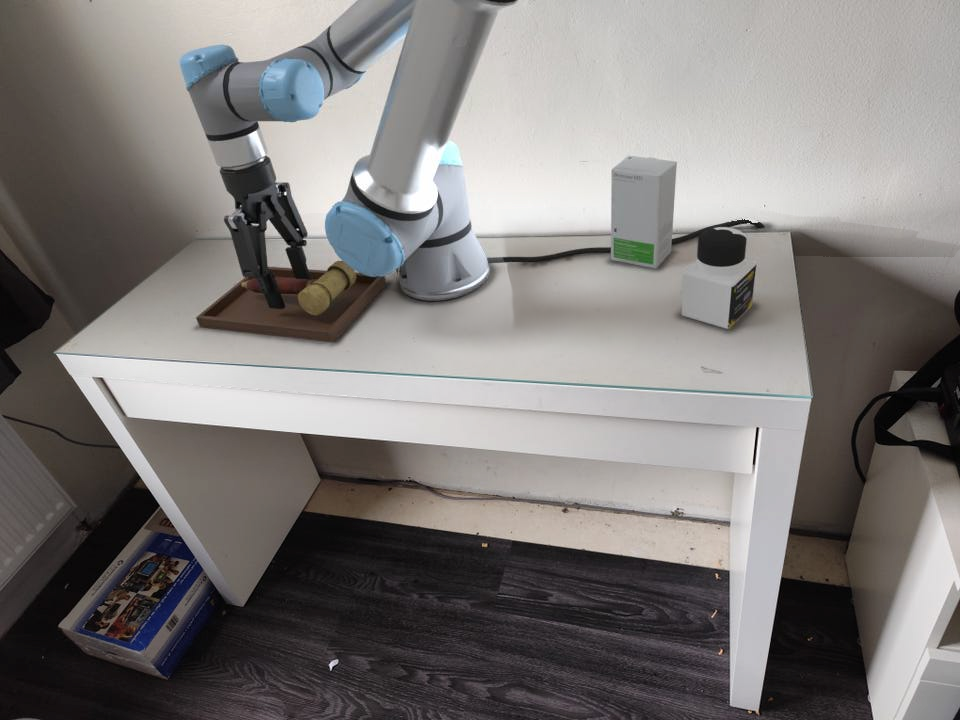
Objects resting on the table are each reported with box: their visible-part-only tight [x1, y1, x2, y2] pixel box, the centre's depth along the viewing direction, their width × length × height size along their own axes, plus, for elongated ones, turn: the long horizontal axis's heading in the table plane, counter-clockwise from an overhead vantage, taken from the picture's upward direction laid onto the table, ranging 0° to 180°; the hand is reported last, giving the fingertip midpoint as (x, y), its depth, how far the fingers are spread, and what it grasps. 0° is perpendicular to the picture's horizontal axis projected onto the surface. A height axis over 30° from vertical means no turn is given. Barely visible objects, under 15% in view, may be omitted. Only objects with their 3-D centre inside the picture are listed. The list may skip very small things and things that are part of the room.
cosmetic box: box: [610, 155, 678, 270], centre depth 105 cm, size 8×7×16 cm
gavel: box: [242, 260, 357, 316], centre depth 111 cm, size 21×5×10 cm
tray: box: [195, 266, 388, 343], centre depth 113 cm, size 27×18×2 cm, turn 69°
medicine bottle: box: [681, 227, 757, 330], centre depth 91 cm, size 7×7×12 cm
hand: (291, 294), depth 112 cm, fingers closed on gavel, 7 cm apart
